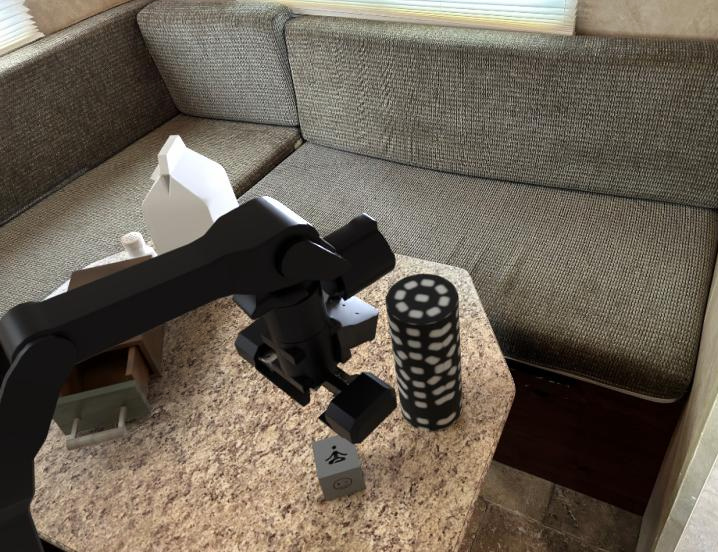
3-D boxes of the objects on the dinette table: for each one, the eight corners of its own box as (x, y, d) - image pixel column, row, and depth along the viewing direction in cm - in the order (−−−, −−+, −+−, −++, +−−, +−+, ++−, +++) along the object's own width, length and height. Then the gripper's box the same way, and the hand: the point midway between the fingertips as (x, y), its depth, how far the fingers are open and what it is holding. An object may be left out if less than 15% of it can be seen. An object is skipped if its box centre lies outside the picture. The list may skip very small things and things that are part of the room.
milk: (241, 297, 101) (194, 163, 85) (175, 300, 102) (115, 168, 86) (256, 251, 111) (216, 122, 94) (195, 254, 111) (144, 128, 95)
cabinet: (161, 376, 90) (141, 339, 84) (73, 397, 88) (47, 361, 83) (168, 290, 104) (151, 254, 99) (92, 307, 103) (72, 271, 98)
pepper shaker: (149, 289, 105) (128, 247, 99) (134, 282, 107) (113, 240, 101) (167, 276, 107) (148, 233, 101) (152, 269, 109) (133, 227, 103)
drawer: (148, 443, 80) (131, 415, 76) (58, 466, 78) (35, 438, 74) (159, 321, 97) (145, 293, 93) (86, 338, 96) (69, 310, 92)
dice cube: (325, 501, 72) (318, 478, 69) (318, 464, 76) (311, 442, 73) (366, 488, 73) (360, 466, 70) (357, 453, 77) (351, 430, 74)
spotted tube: (393, 424, 80) (375, 318, 67) (410, 375, 86) (397, 269, 73) (455, 437, 77) (449, 330, 65) (468, 385, 83) (465, 278, 71)
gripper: (428, 314, 56) (437, 414, 66) (297, 240, 67) (322, 337, 76) (343, 391, 50) (366, 489, 60) (213, 298, 61) (252, 394, 70)
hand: (325, 418), depth 67 cm, fingers open, 6 cm apart
